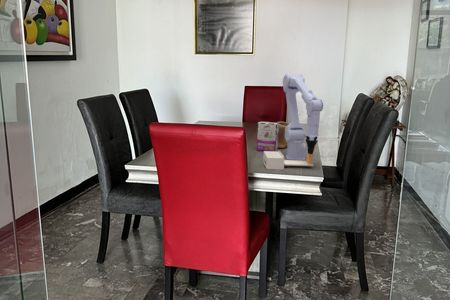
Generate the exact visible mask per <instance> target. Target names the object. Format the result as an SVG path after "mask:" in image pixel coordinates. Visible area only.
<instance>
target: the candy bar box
mask: <svg viewBox="0 0 450 300" xmlns="http://www.w3.org/2000/svg"><path fill="white" fill-rule="evenodd" d="M278 128H279V123H277V122H270V121H258V122H257V131H256V132H257V133H256V134H257V135H256V151H258V152H264V151H274V152H278V148H277V146H278Z"/></svg>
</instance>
